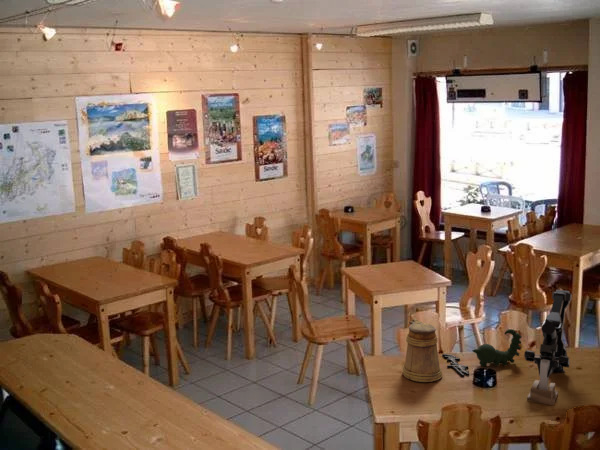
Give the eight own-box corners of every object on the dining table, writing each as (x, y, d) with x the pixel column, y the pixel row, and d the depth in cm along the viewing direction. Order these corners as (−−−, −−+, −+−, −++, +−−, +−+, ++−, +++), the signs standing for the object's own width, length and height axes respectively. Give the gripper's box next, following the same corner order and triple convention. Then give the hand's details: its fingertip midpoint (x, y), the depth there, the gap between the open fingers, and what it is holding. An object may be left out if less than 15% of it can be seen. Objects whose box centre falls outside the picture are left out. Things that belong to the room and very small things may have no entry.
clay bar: (540, 386, 320) (542, 359, 317) (547, 387, 318) (549, 360, 316) (539, 390, 316) (540, 362, 313) (546, 391, 314) (547, 363, 312)
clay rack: (532, 389, 325) (533, 378, 324) (557, 394, 319) (558, 383, 318) (527, 400, 314) (527, 388, 313) (553, 405, 309) (553, 393, 308)
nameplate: (435, 354, 365) (453, 352, 367) (435, 357, 365) (453, 355, 367) (457, 375, 339) (477, 373, 341) (457, 378, 339) (477, 376, 341)
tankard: (412, 385, 331) (413, 334, 326) (393, 366, 354) (393, 318, 349) (448, 380, 336) (449, 330, 331) (426, 362, 358) (427, 314, 353)
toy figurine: (511, 362, 361) (465, 363, 355) (516, 326, 358) (470, 326, 352) (521, 369, 352) (474, 370, 346) (526, 332, 349) (479, 332, 343)
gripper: (526, 333, 320) (519, 365, 313) (570, 339, 311) (564, 372, 304) (528, 344, 329) (522, 375, 321) (571, 350, 320) (566, 383, 313)
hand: (543, 376), depth 315 cm, fingers closed on clay bar, 3 cm apart
